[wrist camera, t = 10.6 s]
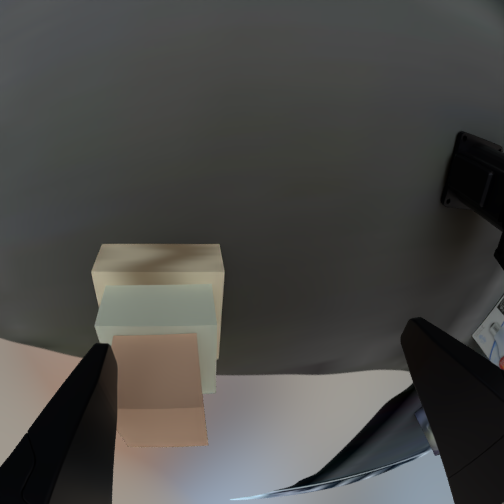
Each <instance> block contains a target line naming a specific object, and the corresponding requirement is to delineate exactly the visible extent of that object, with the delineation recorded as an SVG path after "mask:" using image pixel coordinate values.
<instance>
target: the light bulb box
mask: <svg viewBox="0 0 504 504" xmlns="http://www.w3.org/2000/svg"><path fill="white" fill-rule="evenodd" d="M472 337H473V338H474V339H475V341H476V342H477V343H478V345H479V346H480V347H481V349H482V350H483V352H484V353H485V354H486V356H487V357H488V358H489V360H490V361H491V362H492V363H494V364H495V365H497V366H498V367H500V369H503V370H504V295H503V297H502V298H501V299H500V301H499V302H498V303H497V305H496V306H495V307H494V309H493V310H492V311H491V313H490V314H489V315H488V316H487V318H486V319H485V320H484V322H483V323H482V324H481V325H480V326H479V328H478V329H477V330H476V331H475V332H474V334H473V335H472Z"/></svg>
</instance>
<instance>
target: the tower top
mask: <svg viewBox="0 0 504 504" xmlns="http://www.w3.org/2000/svg"><path fill="white" fill-rule="evenodd" d="M95 329H96V332H97V335H98V338H99V341H100V343H108V344H110V345H111V346H112V340H113V336H126V335H166V334H189V333H197V343H198V354H199V365H200V375H201V385H202V394H212V393H216V353H217V320H216V313H215V305H214V298H213V290H212V284H184V285H106V286H105V290H104V293H103V297H102V300H101V304H100V307H99V311H98V315H97V318H96V322H95Z"/></svg>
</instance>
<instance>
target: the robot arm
mask: <svg viewBox="0 0 504 504" xmlns="http://www.w3.org/2000/svg"><path fill="white" fill-rule="evenodd" d="M463 137H464V138H463ZM502 152H503V149H502V147H501V146H499V145H497V144H495V143H492V142H490V141H487V140H485V139H482V138H480V137H477V136H474V135H472V134H469V133H466V132H463V131H461V132H460V133H459V134H458V138H457V142H456V147H455V151H454V155H453V159H452V163H451V167H450V171H449V175H448V178H447V182H446V186H445V189H444V193H443V196H442V200H441V203H442V204H443V205H444V206H446V207H452V208H461V209H470V210H473V211H475V212H476V213H477V214H479V215H480V216H482V217H483V218H484V219H486V220H487V221H488V222H490V223H491V224H492V225H494V226H495V227H496V228H498V229H499V230H500V231H502V235H501V238H500V241H499V244H498V247H497V249H496V250H495V253H494V257H495V258H496V260H497V261H498V262H499V264H500V265H501V267H502V268H503V270H504V153H502ZM401 345H402V348H403V351H404V355H405V358H406V361H407V364H408V367H409V371H410V374H411V377H412V380H413V383H414V386H415V388H416V391H417V393H418V396H419V398H420V401H421V404H422V406H423V409H424V411H425V414H426V417H427V419H428V422H429V425H430V428H431V430H432V433H433V436H434V439H435V442H436V444H437V447H438V450H439V453H440V456H441V459H442V462H443V465H444V469H445V472H446V475H447V478H448V482H449V486H450V489H451V492H452V496H453V500H454V503H455V504H504V370H503V369H500V367H498V366H497V365H495V364H494V363H492V362H491V361H489V360H488V359H486V358H485V357H483V356H481V355H480V354H478V353H477V352H475V351H474V350H472V349H471V348H469V347H468V346H466V345H464V344H463V343H461V342H460V341H458V340H457V339H455V338H453V337H452V336H450V335H449V334H447V333H446V332H444V331H442V330H441V329H439V328H438V327H436V326H434V325H433V324H431V323H430V322H428V321H426V320H425V319H423V318H421V317H417V318H412V319H410V320H409V321H408V323H407V325H406V327H405V329H404V331H403V333H402V335H401ZM117 384H118V366H117V361H116V359H115V356H114V353H113V350H112V347H111V345H110V344H108V343H96V344H94V345H93V347H92V348H91V349H90V350H89V351H88V353H87V354H86V355H85V356H84V358H83V359H82V360H81V361H80V363H79V364H78V365H77V366H76V368H75V369H74V370H73V371H72V373H71V374H70V376H69V377H68V378H67V379H66V381H65V382H64V383H63V384H62V386H61V387H60V388H59V390H58V391H57V392H56V394H55V395H54V396H53V397H52V399H51V400H50V401H49V403H48V404H47V405H46V407H45V408H44V409H43V411H42V412H41V413H40V415H39V416H38V418H37V419H36V420H35V422H34V423H33V424H32V426H31V427H30V428H29V430H28V433H26V434H25V435H24V437H23V438H22V439H21V441H20V442H19V444H18V445H17V446H16V448H15V449H14V450H13V452H12V453H11V454H10V456H9V457H8V458H7V459H6V461H5V462H4V463H3V464H2V465H1V467H0V504H112V485H113V465H114V450H115V439H116V428H117Z"/></svg>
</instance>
